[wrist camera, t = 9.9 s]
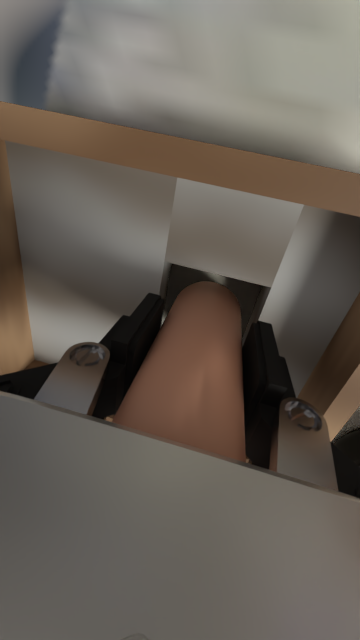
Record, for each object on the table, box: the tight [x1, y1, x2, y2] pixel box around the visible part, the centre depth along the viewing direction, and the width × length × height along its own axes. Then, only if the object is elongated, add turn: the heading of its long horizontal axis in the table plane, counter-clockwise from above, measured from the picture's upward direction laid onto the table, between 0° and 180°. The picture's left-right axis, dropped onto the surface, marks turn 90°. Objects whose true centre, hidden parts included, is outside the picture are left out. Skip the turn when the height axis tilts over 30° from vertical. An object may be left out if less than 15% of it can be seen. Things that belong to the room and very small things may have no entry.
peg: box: [112, 281, 246, 462], centre depth 9 cm, size 4×4×11 cm
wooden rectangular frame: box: [0, 101, 360, 463], centre depth 13 cm, size 14×18×4 cm
